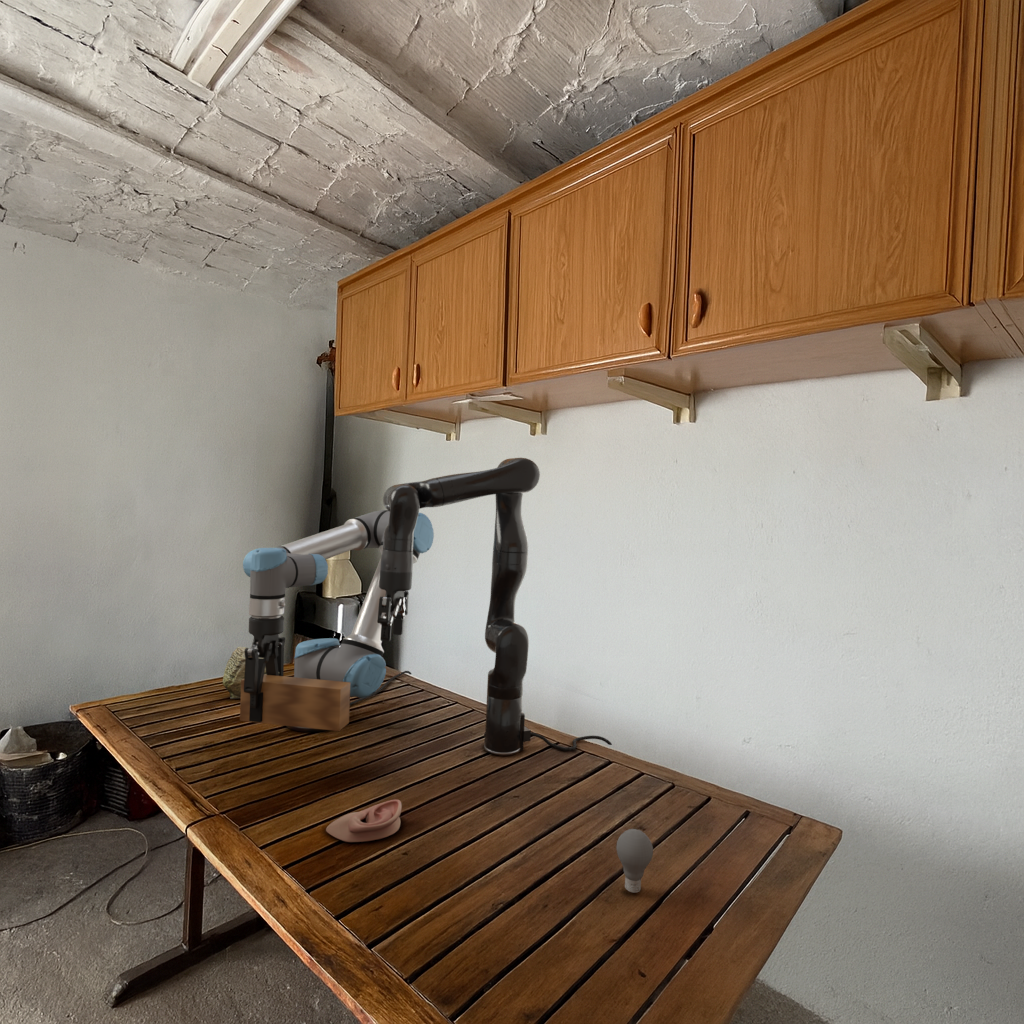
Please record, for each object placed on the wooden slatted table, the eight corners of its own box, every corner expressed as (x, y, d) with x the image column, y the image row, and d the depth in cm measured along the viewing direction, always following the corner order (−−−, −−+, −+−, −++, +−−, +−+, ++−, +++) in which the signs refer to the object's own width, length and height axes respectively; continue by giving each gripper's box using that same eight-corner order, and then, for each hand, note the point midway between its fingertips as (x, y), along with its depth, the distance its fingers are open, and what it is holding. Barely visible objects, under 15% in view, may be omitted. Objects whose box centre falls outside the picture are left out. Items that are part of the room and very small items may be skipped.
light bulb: (610, 879, 108) (613, 822, 108) (644, 879, 109) (647, 822, 109) (619, 902, 102) (622, 840, 102) (655, 901, 103) (658, 840, 103)
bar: (239, 720, 143) (241, 679, 143) (253, 712, 148) (254, 673, 148) (339, 731, 140) (340, 689, 139) (349, 722, 145) (350, 682, 145)
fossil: (218, 695, 195) (220, 647, 195) (278, 685, 208) (279, 640, 207) (228, 703, 189) (230, 653, 188) (289, 692, 201) (290, 645, 201)
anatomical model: (318, 816, 117) (346, 789, 129) (317, 837, 118) (346, 808, 129) (385, 827, 115) (408, 798, 126) (384, 848, 115) (407, 818, 126)
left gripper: (260, 624, 135) (256, 732, 135) (301, 610, 153) (298, 705, 154) (227, 622, 136) (223, 729, 137) (272, 608, 154) (269, 702, 155)
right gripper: (402, 573, 141) (397, 645, 141) (420, 568, 155) (416, 633, 155) (370, 570, 142) (365, 642, 143) (391, 565, 157) (386, 630, 157)
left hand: (263, 716), depth 145 cm, fingers closed on bar, 5 cm apart
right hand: (391, 637), depth 149 cm, fingers open, 8 cm apart
